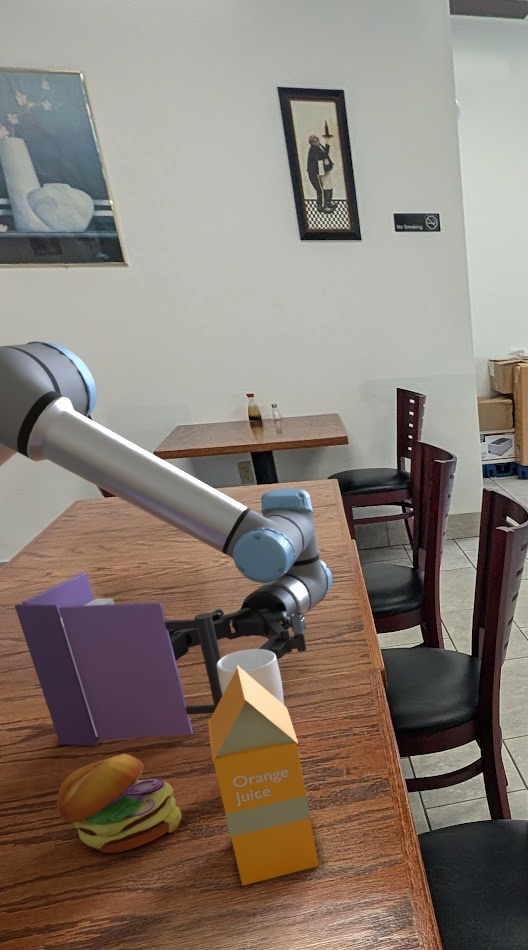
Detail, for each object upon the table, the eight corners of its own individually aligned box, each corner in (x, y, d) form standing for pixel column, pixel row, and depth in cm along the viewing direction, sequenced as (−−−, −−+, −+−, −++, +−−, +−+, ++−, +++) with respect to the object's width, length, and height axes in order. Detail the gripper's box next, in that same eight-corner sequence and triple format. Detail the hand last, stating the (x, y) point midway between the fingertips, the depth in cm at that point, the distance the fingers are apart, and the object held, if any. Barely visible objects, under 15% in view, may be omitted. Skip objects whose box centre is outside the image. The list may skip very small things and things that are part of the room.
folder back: (59, 744, 109) (14, 605, 100) (119, 700, 120) (82, 572, 112) (95, 746, 108) (52, 606, 99) (151, 701, 120) (117, 572, 111)
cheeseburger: (169, 855, 86) (121, 778, 82) (74, 880, 87) (21, 806, 82) (198, 800, 95) (157, 729, 91) (112, 824, 96) (67, 754, 91)
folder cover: (102, 735, 110) (63, 604, 102) (238, 727, 111) (210, 597, 103) (96, 742, 108) (56, 610, 100) (234, 734, 109) (205, 603, 101)
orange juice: (240, 886, 82) (199, 707, 73) (234, 838, 89) (195, 671, 80) (320, 865, 84) (289, 691, 76) (307, 821, 92) (278, 657, 83)
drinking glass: (300, 753, 105) (280, 646, 99) (293, 781, 99) (272, 668, 93) (245, 759, 104) (221, 650, 98) (235, 787, 98) (209, 673, 92)
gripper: (356, 631, 127) (303, 691, 108) (203, 627, 129) (125, 685, 110) (350, 585, 123) (293, 638, 104) (193, 582, 126) (110, 633, 107)
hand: (207, 662), depth 107 cm, fingers open, 13 cm apart
